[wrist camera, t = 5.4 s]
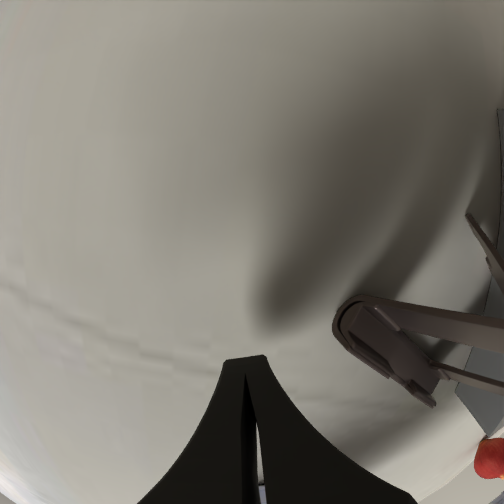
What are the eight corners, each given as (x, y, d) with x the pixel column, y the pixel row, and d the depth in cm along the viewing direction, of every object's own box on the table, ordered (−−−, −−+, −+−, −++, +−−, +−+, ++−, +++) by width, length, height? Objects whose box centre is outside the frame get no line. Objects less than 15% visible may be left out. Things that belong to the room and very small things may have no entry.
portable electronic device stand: (322, 317, 11) (418, 510, 3) (445, 174, 9) (623, 233, 1) (413, 386, 13) (479, 490, 5) (499, 287, 12) (592, 360, 4)
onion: (501, 425, 21) (525, 459, 14) (473, 453, 23) (494, 487, 15) (490, 426, 20) (518, 465, 12) (459, 456, 21) (482, 496, 14)
